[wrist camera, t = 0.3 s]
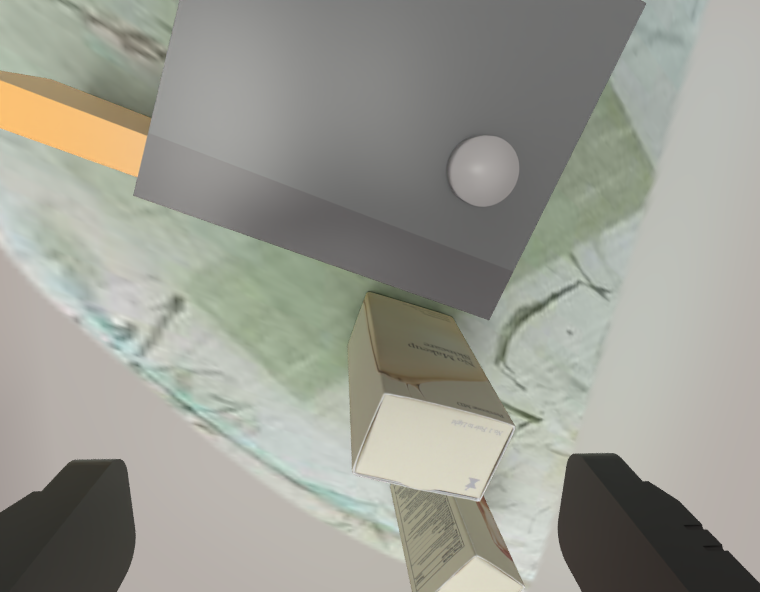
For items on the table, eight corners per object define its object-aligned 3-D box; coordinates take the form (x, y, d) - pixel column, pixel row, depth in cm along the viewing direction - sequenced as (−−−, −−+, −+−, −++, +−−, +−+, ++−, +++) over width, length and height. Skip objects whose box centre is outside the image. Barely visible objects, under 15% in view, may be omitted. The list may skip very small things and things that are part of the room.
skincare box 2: (429, 511, 37) (464, 645, 27) (387, 484, 35) (409, 614, 26) (476, 467, 36) (530, 589, 26) (435, 437, 34) (475, 555, 25)
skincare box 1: (453, 315, 31) (525, 423, 20) (429, 372, 33) (484, 505, 21) (362, 288, 30) (384, 388, 19) (341, 349, 31) (349, 478, 20)
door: (71, 82, 24) (-66, 59, 15) (386, 205, 27) (412, 239, 19) (65, 114, 24) (-72, 109, 16) (376, 231, 28) (397, 275, 19)
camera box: (275, -72, 23) (227, -251, 12) (540, 61, 26) (692, 14, 15) (208, 168, 27) (123, 199, 16) (450, 259, 30) (523, 337, 19)
